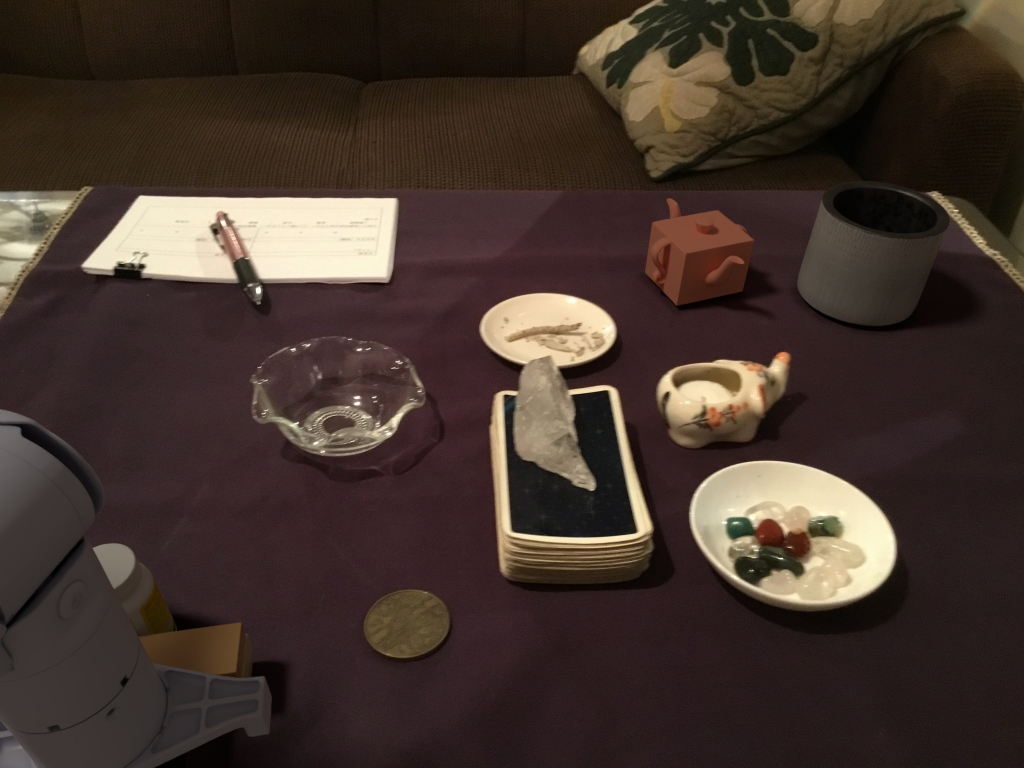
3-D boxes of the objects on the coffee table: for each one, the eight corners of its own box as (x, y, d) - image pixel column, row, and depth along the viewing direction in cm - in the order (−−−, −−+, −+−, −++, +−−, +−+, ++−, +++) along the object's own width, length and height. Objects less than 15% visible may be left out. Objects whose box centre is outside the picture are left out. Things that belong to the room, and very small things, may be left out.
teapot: (680, 334, 82) (693, 265, 76) (614, 262, 92) (622, 197, 87) (775, 312, 85) (794, 244, 80) (702, 245, 96) (714, 181, 91)
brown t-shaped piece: (78, 906, 40) (55, 879, 38) (133, 668, 51) (117, 637, 49) (232, 878, 41) (217, 850, 39) (253, 651, 52) (243, 620, 50)
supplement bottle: (156, 601, 56) (120, 525, 51) (191, 642, 54) (157, 565, 48) (90, 646, 53) (45, 570, 48) (124, 690, 51) (80, 615, 46)
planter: (876, 346, 81) (913, 251, 74) (772, 294, 88) (797, 203, 81) (934, 302, 87) (974, 211, 80) (833, 256, 94) (861, 169, 87)
